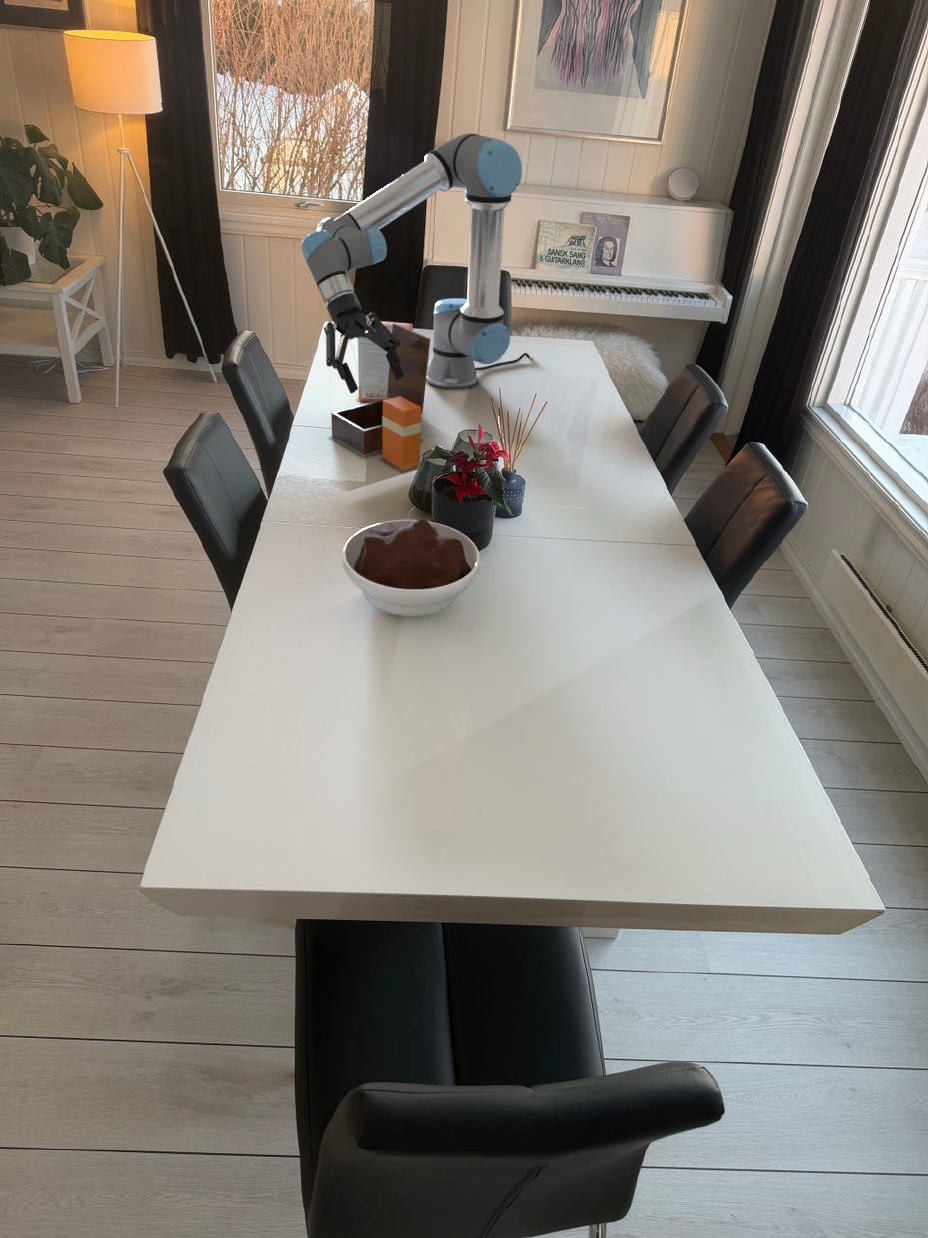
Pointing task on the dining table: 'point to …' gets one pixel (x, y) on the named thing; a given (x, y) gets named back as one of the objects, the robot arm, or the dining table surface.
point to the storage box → (360, 427)
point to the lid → (410, 366)
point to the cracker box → (374, 367)
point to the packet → (401, 432)
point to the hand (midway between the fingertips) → (377, 384)
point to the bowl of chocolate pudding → (410, 565)
